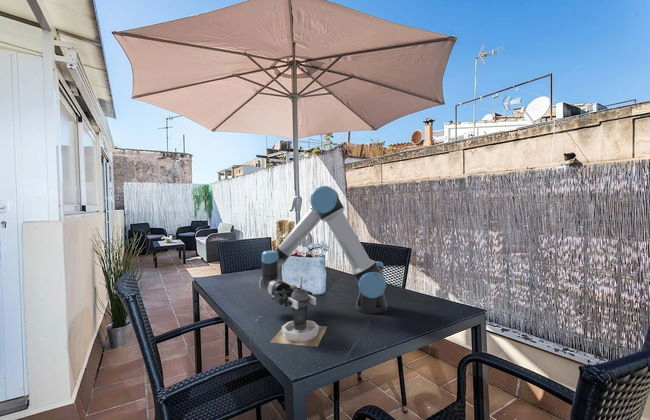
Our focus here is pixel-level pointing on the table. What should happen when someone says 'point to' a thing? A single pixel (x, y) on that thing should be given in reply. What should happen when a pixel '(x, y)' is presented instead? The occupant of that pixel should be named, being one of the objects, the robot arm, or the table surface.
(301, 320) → the beverage cup
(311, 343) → the cork mat
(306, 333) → the bowl
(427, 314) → the table surface
